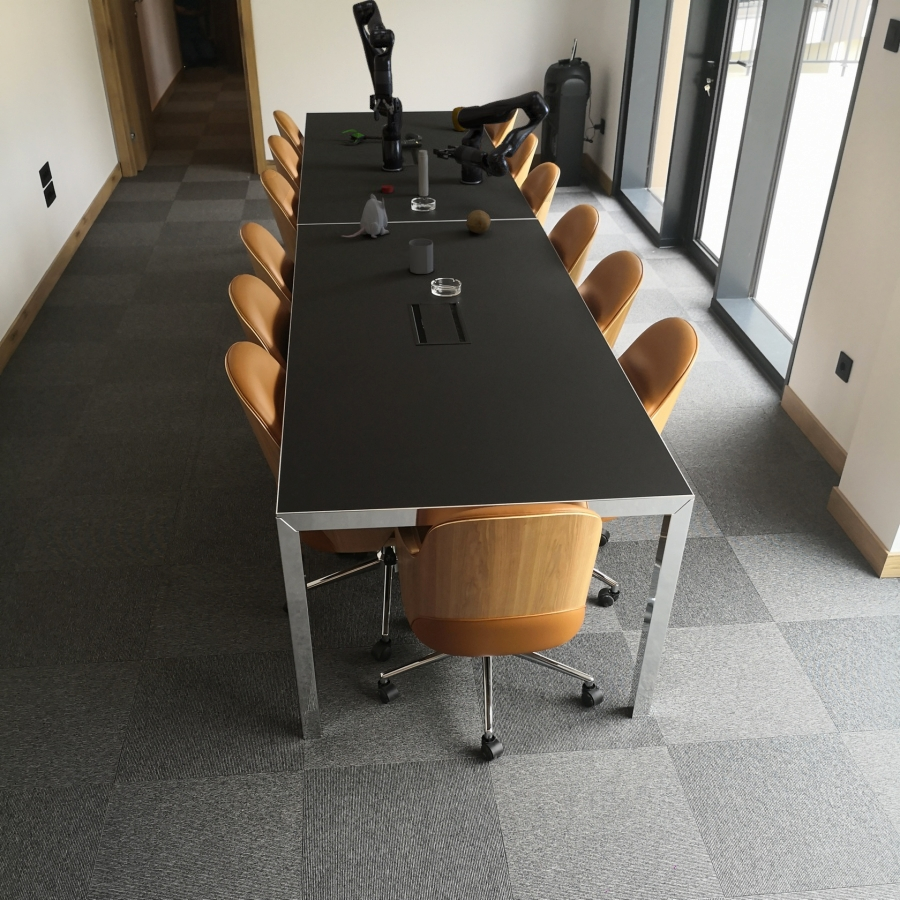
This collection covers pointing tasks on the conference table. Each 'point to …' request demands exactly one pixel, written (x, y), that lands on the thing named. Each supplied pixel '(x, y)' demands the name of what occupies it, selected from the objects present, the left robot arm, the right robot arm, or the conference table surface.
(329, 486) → the conference table surface
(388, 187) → the lid
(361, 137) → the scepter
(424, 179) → the white tall cylinder
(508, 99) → the right robot arm
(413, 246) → the cup
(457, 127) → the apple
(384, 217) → the toy
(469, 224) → the potato
